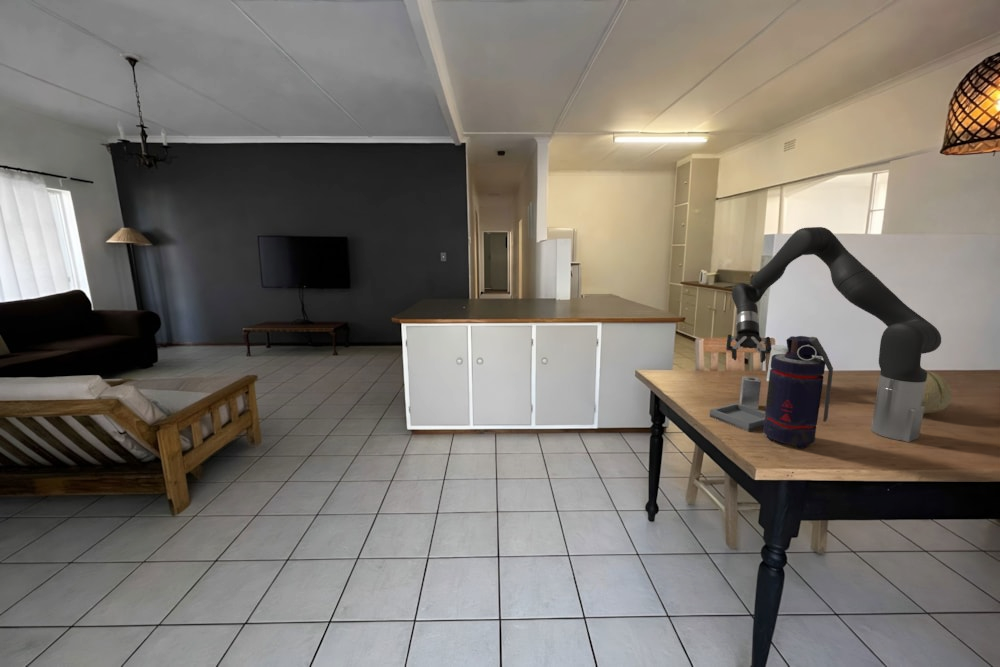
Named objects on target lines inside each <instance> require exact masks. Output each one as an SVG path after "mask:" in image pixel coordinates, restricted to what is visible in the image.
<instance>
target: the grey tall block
mask: <svg viewBox="0 0 1000 667" xmlns="http://www.w3.org/2000/svg"><path fill="white" fill-rule="evenodd" d="M761 384H762V381H761V379H760V378H759V377H754V376H743V375H742V376H741V382H740V391H739V392H740V393H739V403H738V404H741V405H744V406H747V407H750V408H753V409H756V410H757V409H758V410H759V402H760V393H761Z"/></svg>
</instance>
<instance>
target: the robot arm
mask: <svg viewBox="0 0 1000 667" xmlns="http://www.w3.org/2000/svg"><path fill="white" fill-rule="evenodd" d="M809 255H814V256H816V257H818V258H819V259H820V260H821V262H823V263H824V264H825V265H827V267H828V269H829V271H830V277H831V281H832V284H833V286H834V287H835V288H836V290H837V291H838V292H839V293H840V294H841V295H842V297H844V299H846V300H847V301H849V303H851V304H852V305H853V306H855V307H857V308H859V309H861V310H863V311H864V312H867V313H868V314H871V315H872V316H874V317H875V318H877V319H879V321H880V322H882V323H883V324H884V325H886V326H887V327H886V328H885V329H884V331H883V332H882V335H881V338H880V343H879V344H880V345H879V351H878V353H879V354H878V366H879V369H880V374H879V379H878V385H877V392H876V397H875V403H874V408H873V409H874V410H873V414H872V415H873V416H872V420H871V426H870V427H871V428H870V429H871V431H872V433H875V434H876V435H879V436H881V437H885V438H888V439H892V440H899V441H903V442H907V443H910V442H912V441H915V440H918V439H919V438H920V435H921V434H920V433H921V428H922V422H923V418H924V414H923V413H924V406H921V405H922V400H923V395H924V390H925V385H926V380H927V371H928V370H926V369H925V368H922V366H921V359H922V354H928V353H931V352H934V351H936V350H938V348H939V347H940V346H941V344H942V336H941V333H940V331H939V329H938V328H937V327H935V325H934V324H932V323H931V322H929V321H928V320H926V319H925V318H924V317H923V316H921V315H920V314H918V313H917V312H915V311H914V310H913V309H912V308H911V307H909V306H908V305H907V304H905V302H903V301H902V300H901V299H900V298H899V297H898V295H896V294H895V293H894V292H893V291H891V289H890V288H888V287H887V286H886V285H885V284H884V283H883V282H882V281H881V279H879V278H878V277H877V275H875V274H874V273H873V272H872V271H870V270H869V268H867V267H866V266H864V264H862V262H860V261H859V260H858V259H857V258H856V256H854V255H853V254H852V253H850V252H849V251H848V249H847V248H846V247H845V246H844V245H843V243H842V242H841V241H840V240H839V239H838V237H836V235H835V234H834V233H833V232H832V231H831V230H830V229H828V228H826V227H824V226H823V227H822V226H814V227H813V226H812V227H811V226H810V227H809V226H808V227H801V228H798V229H797V230H796V231H795V232H794V233H792V234H791V236H790V237H789V238H788V239H787V240H786V241H785V243H784V244H783V245H782V247H781V248H780V249H779V250H778V251H777V253H776V254H775V255H774V256H773V257H772V259H771V260H769V262H768V263H767V264H765V265H764V266H763V267H762V268H760V270H758V271H757V272H756V273H754V275H752V277H751V278H750V284H749V283H745V282H739V283H737V284H736V285H734V286H733V288H732V292H731V297H732V300H733V303H734V306H735V307H736V320H735V321H736V323H735V324H736V325H735V326H736V329H735V330H736V335H735V336H732V335H731V334H728V335H727V338H726V349H725V350H726V351H730V352H731V359H732V360H733V361H737V358H738V356H737V355H738V354H737V352H738V350H740V349H741V348H743V349H755V351H757V352H759V353H760V354H759V358H760V359H759V360H760V363H764V362H766V358H767V357H766V356H767V355H766V354H768V355H770V353H771V349H772V348H771V345H772V342H771V337H770V336H766V337H761V336H760V321H759V320H760V319H759V315H758V314H759V312H758V305H757V304H756V303H758V302H759V301H760V300H761V299H762V297H763V296H764V295H765V293H766V291H767V290H768V289H769V288H770V287H771V286H773V285H774V284H775V283H777V281H779V279H781V278H782V276H783V275H784V273H785V271H786V269H787V267H788V266H789V265H790V264H791V263H792V262H794V261H795V260H797V259H798V258H800V257H801V256H809ZM732 342H736V343H735V344H734V345H732ZM761 342H762V343H763V345H764V346H763V345H762V343H761Z"/></svg>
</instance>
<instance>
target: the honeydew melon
mask: <svg viewBox="0 0 1000 667" xmlns="http://www.w3.org/2000/svg"><path fill="white" fill-rule="evenodd" d="M926 371H927V380H926V385H925V390H924V395H923V400H922V405H921V406H924V413H923V415H925V414H931V413H932V414H933V413H937V412H941V411H943V410H945V409H946V408H947V407H948V406H949V405H950V403H951V401H952V398H953V392H952V389H951V386H950V385H949V383H948V381H947V380H946V379H944V378H943V377H942V376H941V375H940V374H937V373H935V372H933V371H929V370H926Z"/></svg>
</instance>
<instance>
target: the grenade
mask: <svg viewBox="0 0 1000 667" xmlns="http://www.w3.org/2000/svg"><path fill="white" fill-rule="evenodd" d="M785 341H786V346H787V347H788V351H787V353H786V354H776V355H773V356H772V359H771V368H772V369H771V370H770V376H769V382H768V384H767V394H766V401H765V402H766V404H765V415H766V416H765V421H764V427H763V433H764V434H765V437H766V439H767V438H768V439H769V440H768V439H767V440H768V441H770V440H771V441H770V442H775V441H776V442H779V443H782V444H785V445H792V446H795V448H796V447H797V448H796V449H805V448H807V445H812V444H814V443H815V439H816V433H817V432H816V431H817V425H818V418H819V412H820V404H821V398H822V390H823V385H824V384H823V383H824V374H825V368H827V371H828V373H827V374H828V375H827V384H826V392H825V399H824V400H825V401H824V411H823V420H822V421H823V422H824V423H826V422H827V420H828V418H829V410H830V400H831V391H832V382H833V373H834V372H833V371H834V368H833V365H832V364H831V361H830V359H829V356H828V354H827V353H826V351H825V349H824V347H823V346H822V344H821V342H820V340H819V339H818V337H816V336H805V335H804V336H803V335H798V336H789V337H788V338H787V339H786V340H785ZM812 355H813V356H814V357H812ZM816 356H822V359H819V358H815V357H816Z"/></svg>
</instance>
